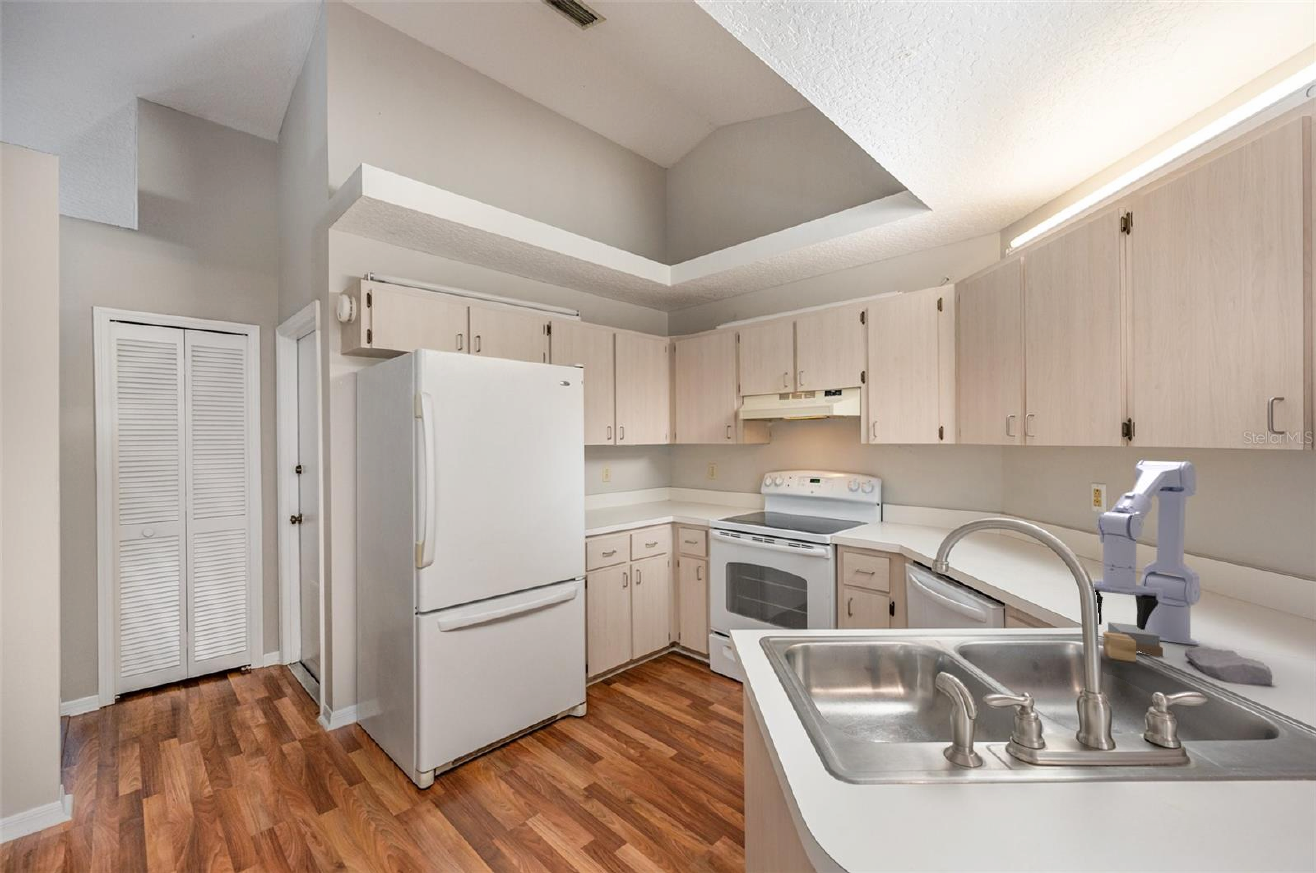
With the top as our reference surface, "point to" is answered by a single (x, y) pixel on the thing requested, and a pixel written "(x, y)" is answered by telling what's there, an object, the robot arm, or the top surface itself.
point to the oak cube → (1119, 646)
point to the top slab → (1135, 633)
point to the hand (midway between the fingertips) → (1119, 625)
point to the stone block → (1229, 666)
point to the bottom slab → (1149, 649)
